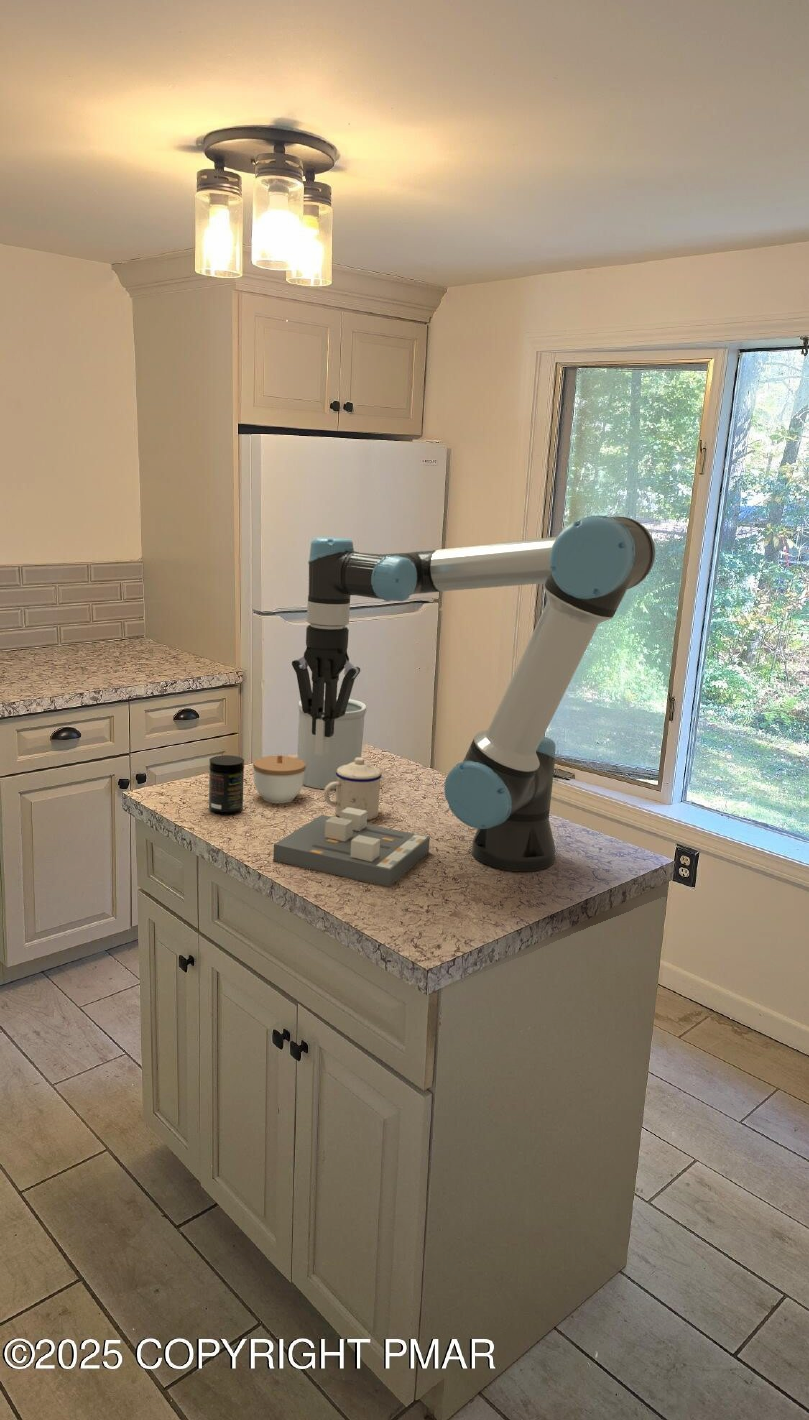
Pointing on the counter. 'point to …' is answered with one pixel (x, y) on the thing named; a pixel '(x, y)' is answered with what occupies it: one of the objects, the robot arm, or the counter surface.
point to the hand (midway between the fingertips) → (321, 752)
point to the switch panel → (334, 855)
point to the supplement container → (226, 784)
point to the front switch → (365, 848)
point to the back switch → (355, 817)
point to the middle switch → (338, 828)
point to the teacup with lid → (356, 788)
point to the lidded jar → (279, 778)
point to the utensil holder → (331, 745)
